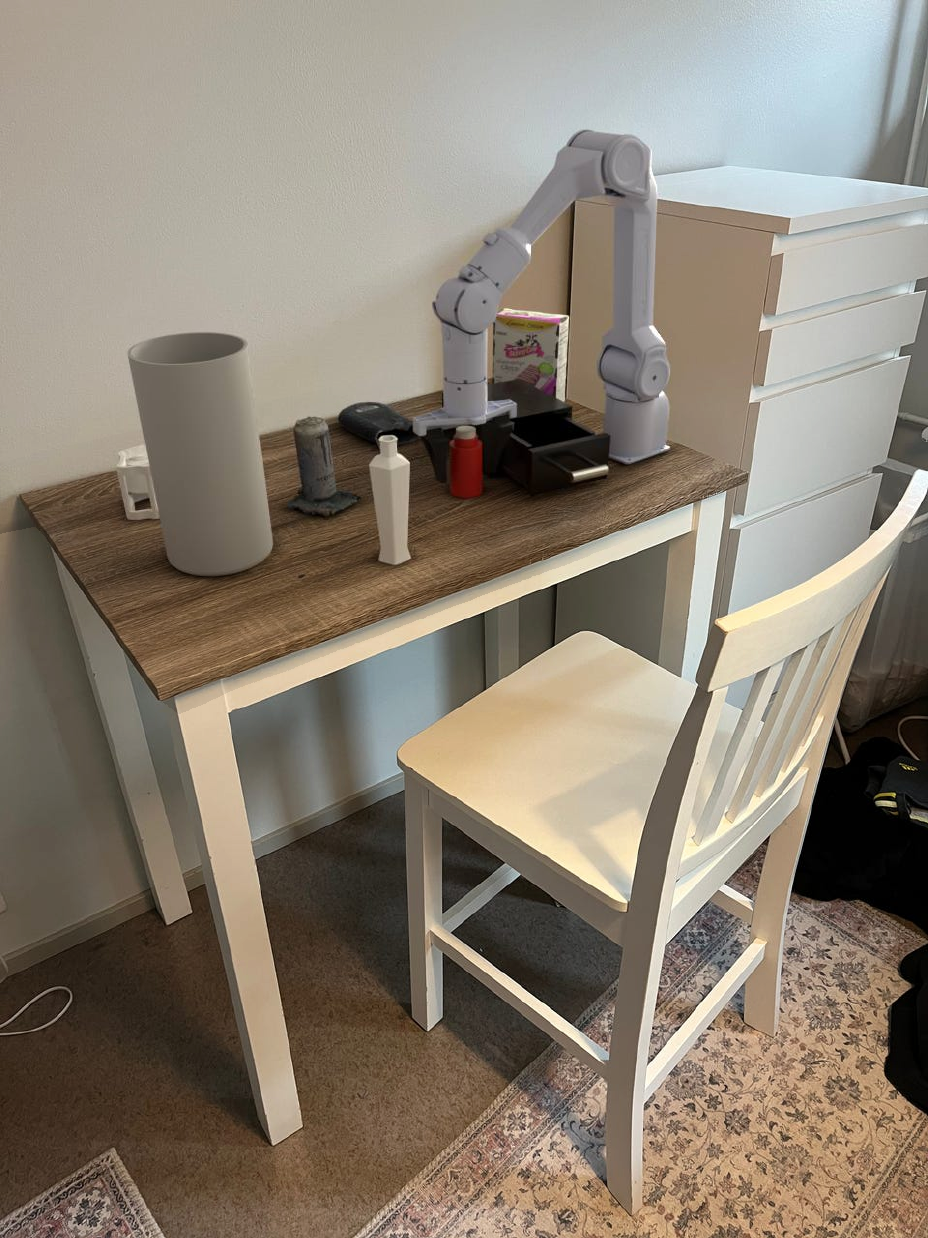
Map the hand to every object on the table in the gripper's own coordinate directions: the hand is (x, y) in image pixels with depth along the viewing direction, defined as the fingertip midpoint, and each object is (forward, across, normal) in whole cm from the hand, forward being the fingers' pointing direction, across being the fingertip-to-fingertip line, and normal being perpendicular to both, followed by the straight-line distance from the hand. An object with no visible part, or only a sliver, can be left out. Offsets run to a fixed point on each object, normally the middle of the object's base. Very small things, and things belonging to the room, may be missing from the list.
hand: (466, 475), depth 129 cm
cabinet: (+2, +12, +10) cm, 16 cm away
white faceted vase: (+2, -16, -13) cm, 21 cm away
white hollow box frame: (+2, -33, +18) cm, 38 cm away
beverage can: (+2, -19, +5) cm, 19 cm away
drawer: (+1, +12, -3) cm, 12 cm away
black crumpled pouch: (+2, -1, +28) cm, 28 cm away
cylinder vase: (+2, -35, -2) cm, 35 cm away
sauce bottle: (+2, 0, 0) cm, 2 cm away
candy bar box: (+3, +23, +22) cm, 32 cm away
